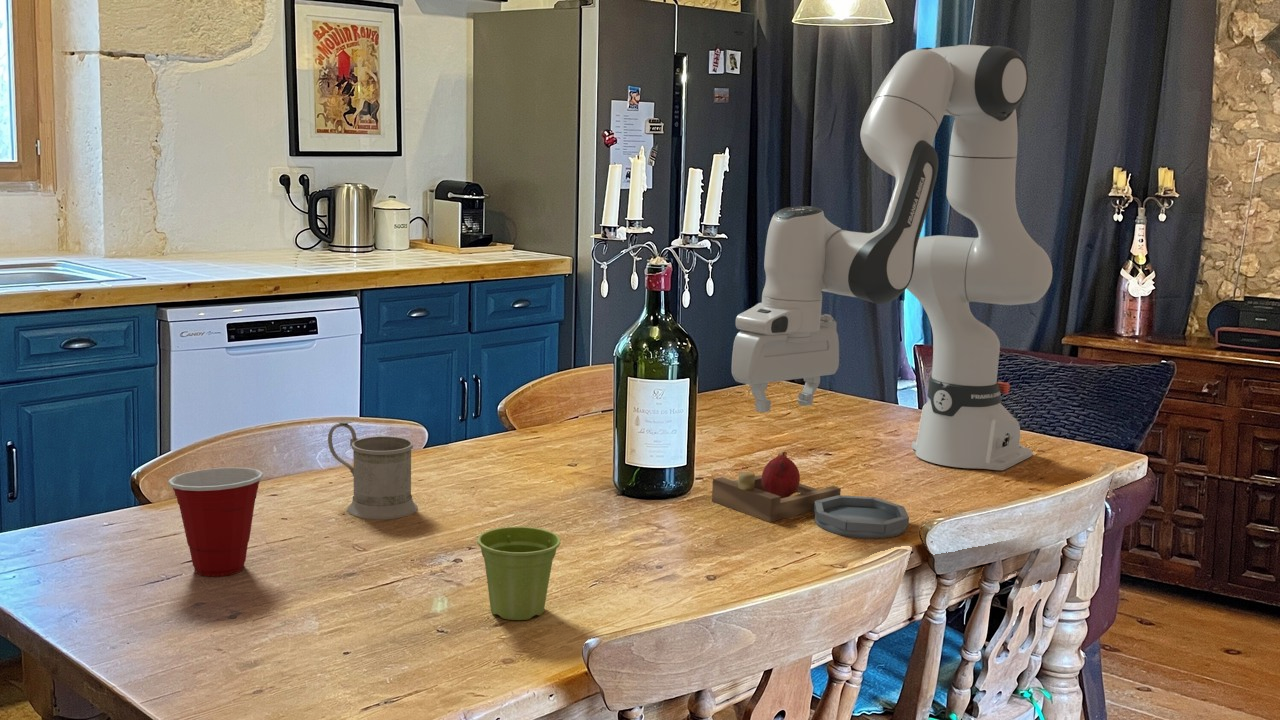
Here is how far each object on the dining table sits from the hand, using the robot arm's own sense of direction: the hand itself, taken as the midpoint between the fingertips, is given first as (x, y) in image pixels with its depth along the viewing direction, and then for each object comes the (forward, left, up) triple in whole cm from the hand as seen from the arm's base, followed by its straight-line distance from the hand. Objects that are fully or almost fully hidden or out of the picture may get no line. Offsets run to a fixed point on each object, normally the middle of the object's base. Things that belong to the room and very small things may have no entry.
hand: (784, 408), depth 182 cm
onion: (0, 0, -15) cm, 15 cm away
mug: (+52, -32, -15) cm, 63 cm away
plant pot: (+57, +12, -15) cm, 60 cm away
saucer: (-2, +14, -15) cm, 20 cm away
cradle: (0, 0, -15) cm, 15 cm away
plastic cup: (+79, -20, -15) cm, 83 cm away
